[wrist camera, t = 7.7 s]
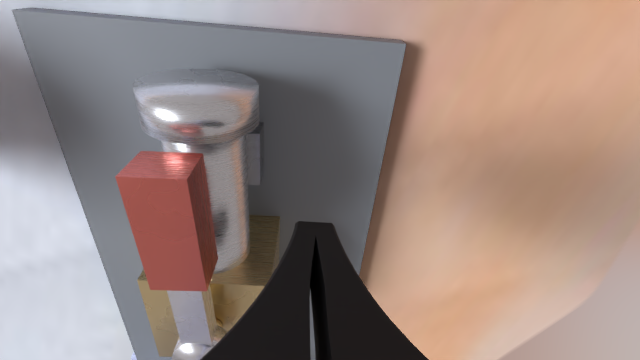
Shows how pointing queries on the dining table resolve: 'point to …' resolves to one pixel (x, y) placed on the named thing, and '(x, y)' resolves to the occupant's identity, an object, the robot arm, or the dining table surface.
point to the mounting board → (274, 110)
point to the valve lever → (175, 240)
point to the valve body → (214, 183)
